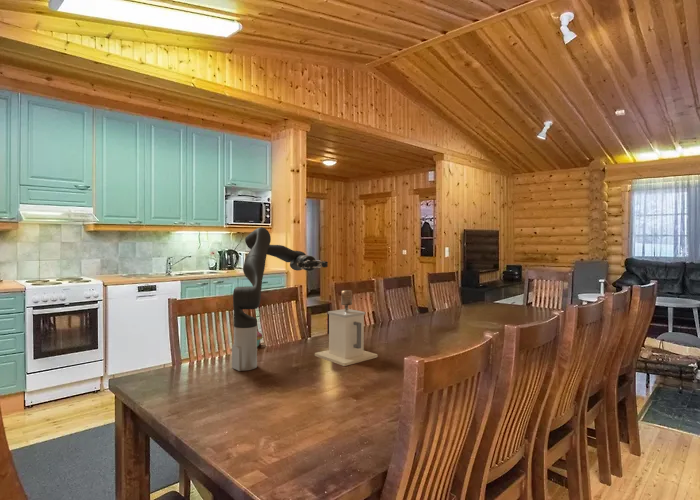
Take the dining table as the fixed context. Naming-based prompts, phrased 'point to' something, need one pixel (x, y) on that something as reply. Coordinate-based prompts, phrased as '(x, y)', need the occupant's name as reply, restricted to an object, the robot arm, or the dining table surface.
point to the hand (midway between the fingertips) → (316, 265)
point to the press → (346, 338)
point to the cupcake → (259, 337)
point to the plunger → (346, 298)
